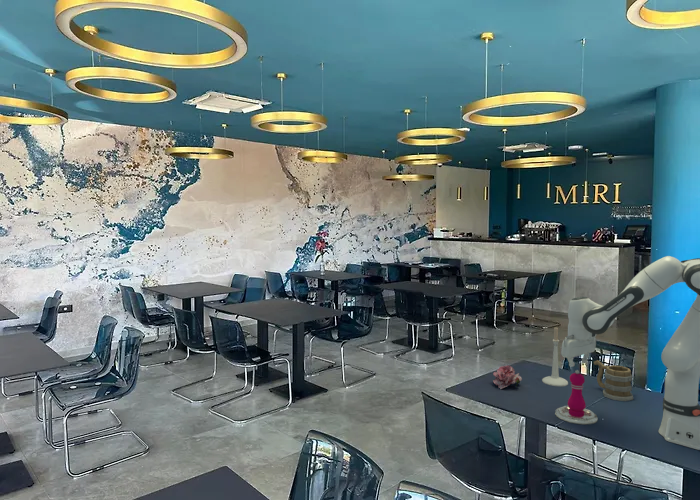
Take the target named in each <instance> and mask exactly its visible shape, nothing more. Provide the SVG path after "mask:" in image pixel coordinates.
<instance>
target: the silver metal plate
mask: <svg viewBox="0 0 700 500" xmlns="http://www.w3.org/2000/svg"><path fill="white" fill-rule="evenodd" d="M569 409H570V408H569V406H568V405H564V406H560V407H557V408H556V409H555V410H554V412H555V413H554V415H555V416H556V417H557V419H559V420H562V421H564V422H567V423H570V424H574V425H575V424H576V425H584V426H585V425H594V424H596V423H598V421H599V419H598V418H599V417H598V415H597V414H596V413H594V412H593V411H592V410H590V409H587V408H585V409H584V410H583V411H584V416H583V417H575V416H572V415H570V414H569Z"/></svg>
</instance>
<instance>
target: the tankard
mask: <svg viewBox="0 0 700 500" xmlns="http://www.w3.org/2000/svg"><path fill="white" fill-rule="evenodd" d="M593 364H594V365H595V366H598V372H597V376H596V381H597V382H596V383H597V384H598V386H599V387H600V388H602V395H603V396H604V397H605V398H608V399H610V400H612V401H620V402H629V401H633V400H634V396H633V393H632V390H633V386H632V381H633V375H632V371H631V369H630V368H628V367H625V366H623V365H616V364H615V365H605V364H604V363H602V361H600V360H598V359H597V360H595V361H593ZM604 370H605V371H604ZM603 375H604V376H605V380H604V383H603V379H602V377H603Z"/></svg>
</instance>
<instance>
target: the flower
mask: <svg viewBox="0 0 700 500" xmlns="http://www.w3.org/2000/svg"><path fill="white" fill-rule="evenodd" d="M515 373H516V370H515V368H513V366H511V365H510V364H509V365H508V364H507V365H502V366H499V368H498V369H496V371H493V376H494V377H495V378H494V379H492V381H493V384H495V386H498V389H499V388H500V390H502V389H504V388H506V387H509V386H510V385H514V384H515V383H516V385H515V388H517V387H518V385H519V383H521V381H523V378H522V376H520V372H519V373H516V374H515Z"/></svg>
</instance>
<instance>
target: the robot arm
mask: <svg viewBox="0 0 700 500" xmlns="http://www.w3.org/2000/svg"><path fill="white" fill-rule="evenodd" d="M678 283H685V285H686V286H687V288H689V289H690V290H691V291H693V292H694V293H696V297H695V300H694V301H693V303H692V304H691V306H690V308H689V310H688V311H687V313H686V314H685V315H684V316H685V317H684V318H683V320H682V321H681V323H680V324H679V325H678V327H677V328H676V330H675V331H674V332H673V334H672V336H671V337H670V339H669V340H668V341H667V342H666V344H665V347H664V348H663V350H662V352H661V356H660V357H661V361H662V365H664V366H665V367H666V368H667V371H666V376H665V379H664V397H663V398H662V400H663V401H662V412H663V413H662V419H661V423H660V425H659V429H658V433H659V434H660V435H661V436H662V437H663V438H664V440H665V441H666V442H669V443H672V444H677V445H680V446H684V447H686V448H690V449H695V450H697V451H700V404H699V386H700V385H699V384H700V257H698V258H691V259H686V260H679V259H678V258H676V257H674V256H670V255H666V256H663V257H662V258H659V259H657V260H656V261H653V262H652V263H650V264H649V265H647V266H646V267H644V268H643V269H642V270H640V271H639V272H638V273H636V275H634V277H633V278H632V279H631V280H630V281H629V282H628V284H627V285H626V286H625V288H624V289H623V290H622V291H621V292H620V293H619V294H618V295H617V296H615V297H614V298H613V299H611V300H610V301H608V302H607V303H606V304H604V305H601V304H599V303H597V302H595V301H593V300H592V299H590V298H589V297H587V296H577V297H574V298H572V299H570V300H569V303H568V307H567V308H568V311H567V317H568V324H567V336H565V338H564V339H563V341H562V343H561V351H560V352H561V354H560V355H561V356H562V358H566V359H567V361H568V366H569V367H570V368H573V367H575V365H576V364H575V362H574V360H575V359H574V358H575V357H579V356H582V358H581V363H583V364H587V363H588V360H589V357H590V353H594V352H595V351H596V346H597V338H596V337H597V335H601V334H605V332H606V331H607V330H608V329H609V328H610V327H611V326H612V325H613V324H615V320H616V318H618V317H619V316H620V315H622V314H623V313H625V312H626V311H627V310H629V309H630V308H632V307H634V306H636V305H638V304H640V303H643V302H646V301H647V300H650V299H652V298H655V297H656V296H658V295H661V293H663V292H665V291H666V290H668V289H669V288H670V287H671V286H673V285H675V284H678Z"/></svg>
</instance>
